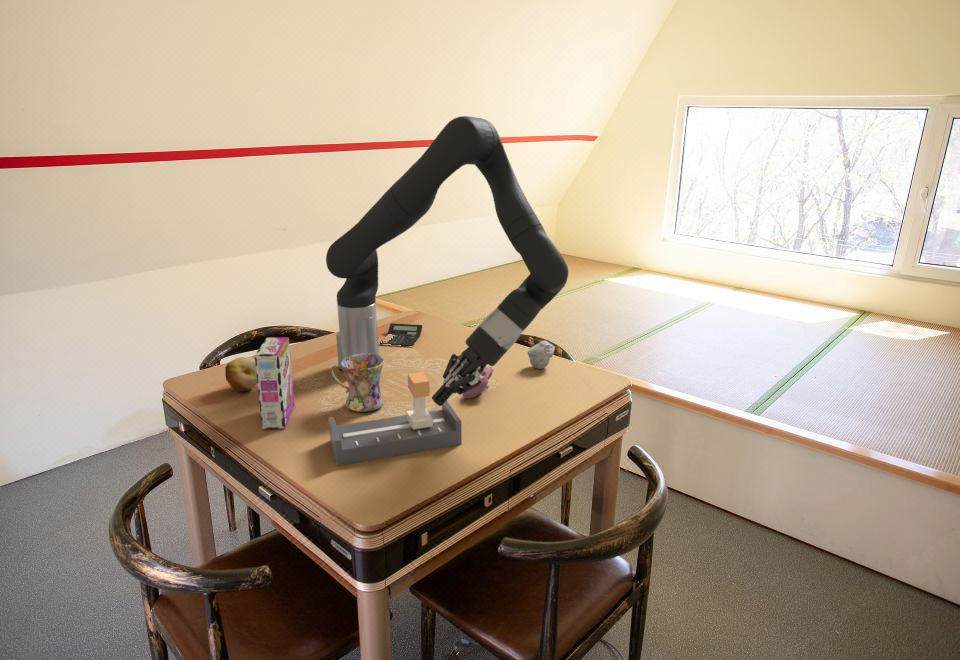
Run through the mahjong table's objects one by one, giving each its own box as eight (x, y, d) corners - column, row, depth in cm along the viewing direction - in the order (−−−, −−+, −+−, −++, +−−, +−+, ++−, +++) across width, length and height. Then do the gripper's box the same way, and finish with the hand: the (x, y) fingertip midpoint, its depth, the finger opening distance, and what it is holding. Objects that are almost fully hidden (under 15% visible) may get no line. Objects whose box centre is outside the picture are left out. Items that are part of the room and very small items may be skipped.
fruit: (225, 398, 148) (221, 365, 145) (231, 384, 156) (226, 352, 153) (260, 395, 149) (256, 363, 147) (264, 381, 157) (260, 350, 154)
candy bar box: (286, 429, 134) (278, 354, 129) (261, 430, 133) (252, 355, 128) (296, 405, 144) (289, 335, 139) (273, 406, 144) (265, 336, 139)
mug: (391, 398, 148) (389, 354, 145) (379, 416, 139) (376, 370, 136) (341, 395, 150) (337, 351, 146) (325, 412, 141) (321, 367, 138)
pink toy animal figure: (477, 407, 147) (491, 382, 145) (460, 397, 147) (473, 372, 145) (486, 389, 157) (499, 365, 154) (469, 380, 157) (482, 356, 154)
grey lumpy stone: (557, 371, 163) (558, 344, 161) (530, 373, 161) (531, 347, 159) (549, 362, 169) (550, 336, 166) (523, 364, 167) (524, 339, 165)
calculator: (379, 346, 181) (378, 335, 180) (391, 332, 192) (391, 322, 191) (412, 348, 179) (411, 337, 178) (422, 334, 190) (422, 324, 189)
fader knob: (426, 415, 132) (424, 371, 129) (433, 426, 128) (431, 380, 124) (406, 418, 131) (405, 374, 128) (412, 429, 126) (411, 383, 123)
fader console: (446, 421, 137) (446, 400, 135) (461, 443, 128) (461, 421, 126) (330, 440, 129) (328, 417, 128) (337, 465, 121) (335, 441, 119)
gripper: (470, 315, 133) (413, 379, 133) (493, 336, 121) (431, 406, 121) (494, 337, 136) (439, 399, 137) (519, 359, 125) (459, 427, 125)
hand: (435, 402), depth 129 cm, fingers closed
